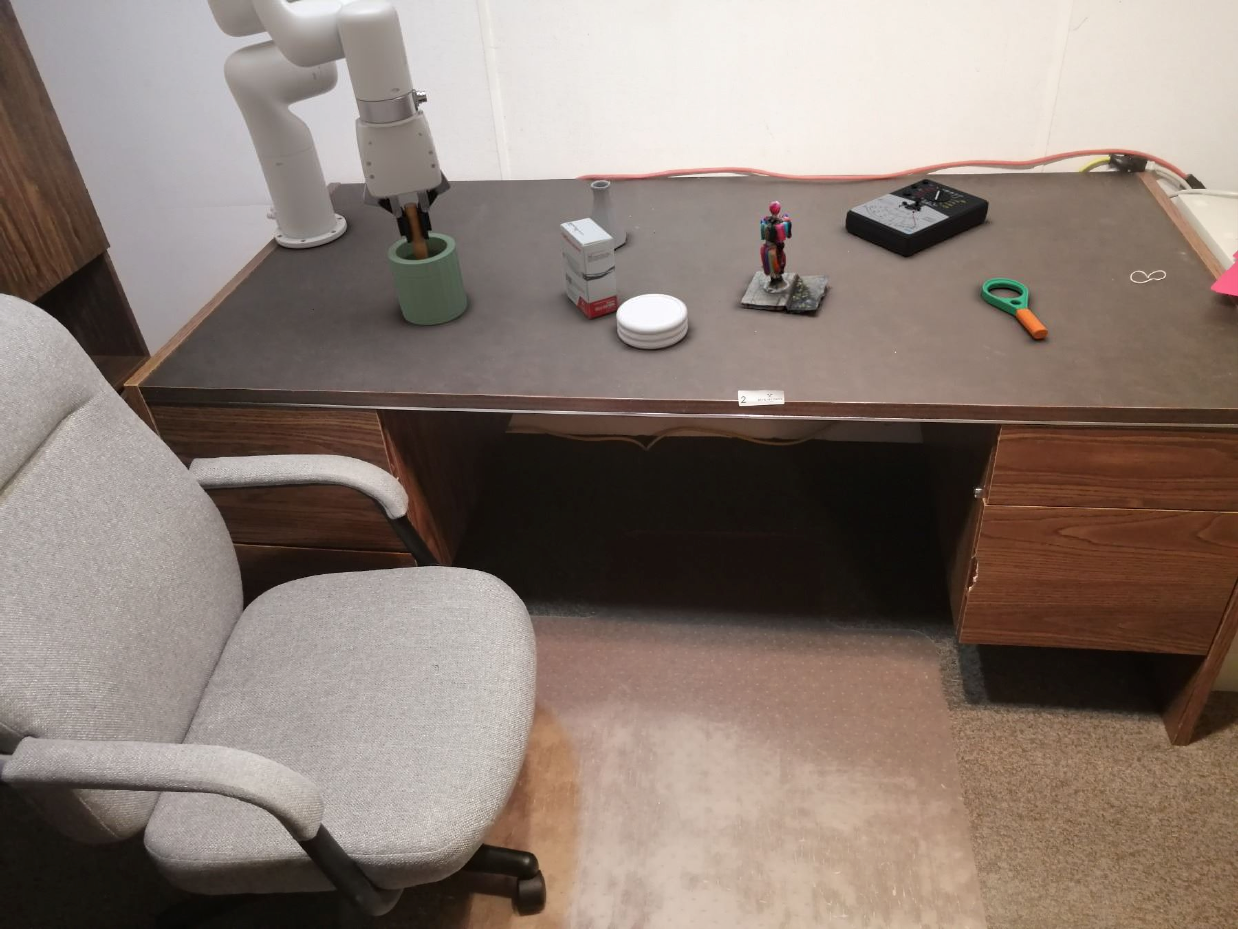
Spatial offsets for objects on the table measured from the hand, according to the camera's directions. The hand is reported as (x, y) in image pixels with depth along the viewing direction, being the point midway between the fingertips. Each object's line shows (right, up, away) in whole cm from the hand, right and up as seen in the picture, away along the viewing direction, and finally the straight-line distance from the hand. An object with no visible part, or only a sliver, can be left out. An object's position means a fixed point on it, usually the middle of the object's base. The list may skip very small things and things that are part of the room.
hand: (417, 236), depth 128 cm
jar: (+1, -9, +8) cm, 12 cm away
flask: (+27, +5, +22) cm, 35 cm away
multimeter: (+78, +6, +18) cm, 80 cm away
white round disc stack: (+34, -14, -2) cm, 37 cm away
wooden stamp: (+1, -8, +7) cm, 11 cm away
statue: (+54, -8, +4) cm, 54 cm away
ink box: (+25, -9, +6) cm, 27 cm away
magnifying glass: (+84, -12, -4) cm, 85 cm away
